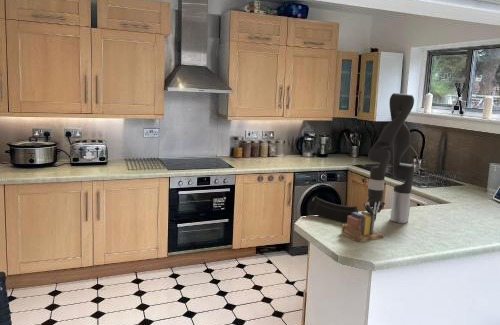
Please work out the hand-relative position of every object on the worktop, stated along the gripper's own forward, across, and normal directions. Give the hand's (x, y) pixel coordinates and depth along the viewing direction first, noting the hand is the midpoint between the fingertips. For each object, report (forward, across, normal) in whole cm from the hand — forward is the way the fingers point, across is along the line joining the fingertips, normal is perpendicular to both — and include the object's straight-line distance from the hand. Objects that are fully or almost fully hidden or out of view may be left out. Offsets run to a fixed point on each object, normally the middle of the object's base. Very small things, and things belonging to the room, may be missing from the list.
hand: (372, 220), depth 211 cm
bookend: (+6, -4, 0) cm, 7 cm away
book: (+6, -6, 0) cm, 8 cm away
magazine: (+8, -3, +27) cm, 28 cm away
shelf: (+7, -6, 0) cm, 9 cm away
